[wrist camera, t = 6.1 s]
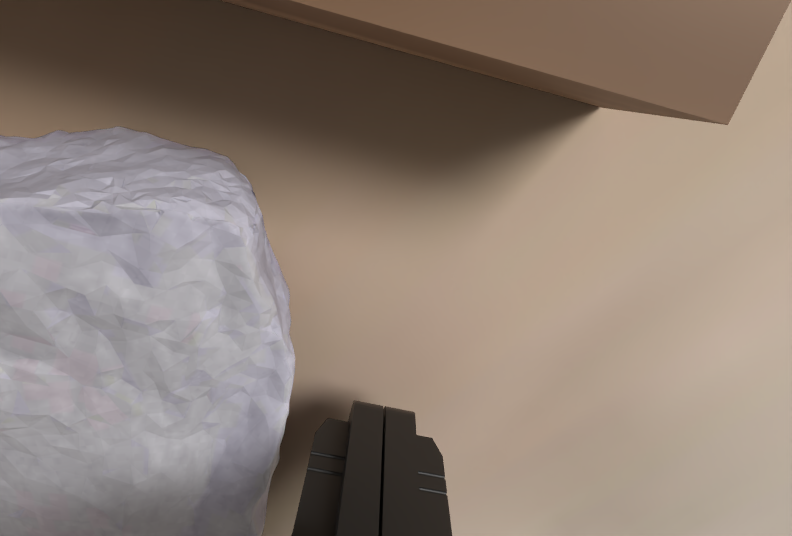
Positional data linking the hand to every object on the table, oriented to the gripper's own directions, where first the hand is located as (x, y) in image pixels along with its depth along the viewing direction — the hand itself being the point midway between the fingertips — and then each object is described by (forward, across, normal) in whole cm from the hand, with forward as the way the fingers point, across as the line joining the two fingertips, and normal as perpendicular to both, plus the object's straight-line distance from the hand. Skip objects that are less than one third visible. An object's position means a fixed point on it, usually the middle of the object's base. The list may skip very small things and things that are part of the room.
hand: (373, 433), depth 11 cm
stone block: (+2, +7, 0) cm, 7 cm away
